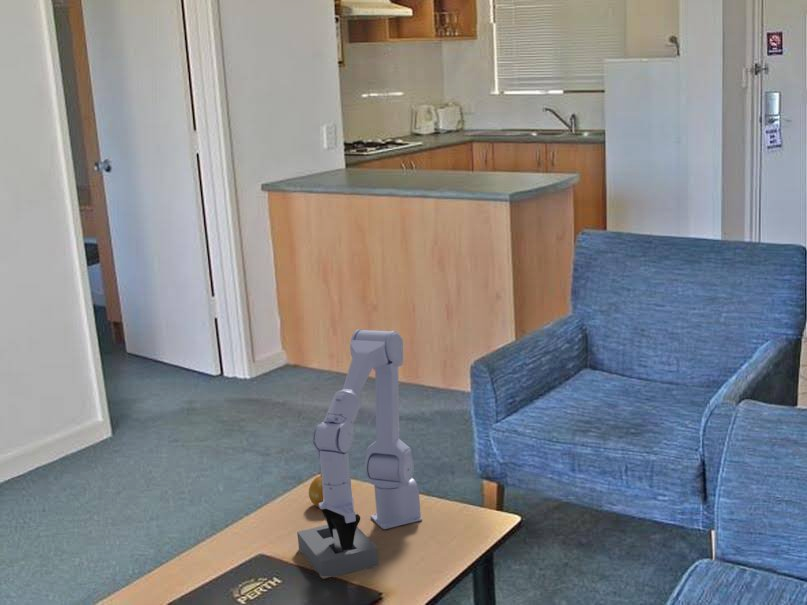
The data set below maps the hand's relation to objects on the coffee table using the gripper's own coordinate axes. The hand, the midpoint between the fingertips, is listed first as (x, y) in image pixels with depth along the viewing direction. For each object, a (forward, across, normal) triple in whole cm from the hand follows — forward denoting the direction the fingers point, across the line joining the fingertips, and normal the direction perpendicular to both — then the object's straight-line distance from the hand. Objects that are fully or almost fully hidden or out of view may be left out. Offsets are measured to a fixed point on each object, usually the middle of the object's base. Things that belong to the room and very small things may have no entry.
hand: (342, 542), depth 213 cm
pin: (+4, 0, 0) cm, 4 cm away
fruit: (+5, -31, +7) cm, 32 cm away
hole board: (+5, -4, 0) cm, 6 cm away
